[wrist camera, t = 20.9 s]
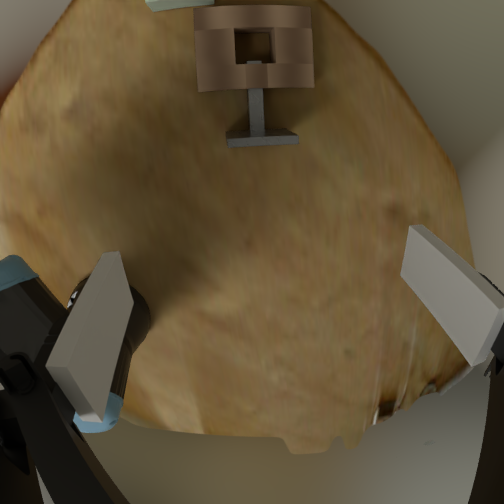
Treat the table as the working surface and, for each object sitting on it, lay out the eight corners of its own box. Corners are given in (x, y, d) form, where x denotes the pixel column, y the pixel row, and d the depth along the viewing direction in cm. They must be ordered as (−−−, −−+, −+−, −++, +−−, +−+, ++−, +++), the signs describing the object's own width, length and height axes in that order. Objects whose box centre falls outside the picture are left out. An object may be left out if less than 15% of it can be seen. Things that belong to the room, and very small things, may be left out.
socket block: (199, 92, 38) (198, 92, 34) (195, 15, 33) (193, 8, 29) (305, 87, 39) (314, 87, 35) (302, 13, 34) (310, 6, 30)
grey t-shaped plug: (226, 138, 41) (227, 147, 35) (221, 63, 36) (222, 57, 30) (285, 135, 41) (298, 144, 35) (283, 61, 37) (296, 56, 30)
